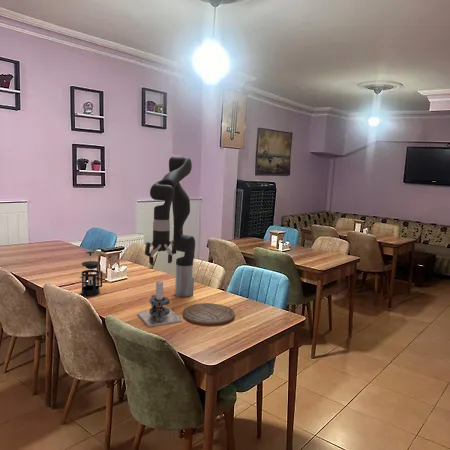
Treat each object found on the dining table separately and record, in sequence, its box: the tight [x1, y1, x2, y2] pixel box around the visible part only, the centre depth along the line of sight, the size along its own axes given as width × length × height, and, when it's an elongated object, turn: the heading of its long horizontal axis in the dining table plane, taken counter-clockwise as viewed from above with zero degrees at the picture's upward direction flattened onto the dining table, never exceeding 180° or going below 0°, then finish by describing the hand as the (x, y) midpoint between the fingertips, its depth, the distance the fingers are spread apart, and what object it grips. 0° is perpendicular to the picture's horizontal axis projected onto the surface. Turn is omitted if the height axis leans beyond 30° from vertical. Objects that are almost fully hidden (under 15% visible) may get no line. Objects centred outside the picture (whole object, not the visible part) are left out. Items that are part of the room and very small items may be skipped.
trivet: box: [182, 302, 236, 327], centre depth 197 cm, size 25×25×2 cm
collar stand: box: [136, 294, 183, 328], centre depth 190 cm, size 16×16×9 cm
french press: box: [80, 251, 103, 298], centre depth 218 cm, size 12×9×23 cm
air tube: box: [155, 281, 164, 317], centre depth 189 cm, size 3×3×16 cm
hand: (160, 263), depth 187 cm, fingers open, 8 cm apart
